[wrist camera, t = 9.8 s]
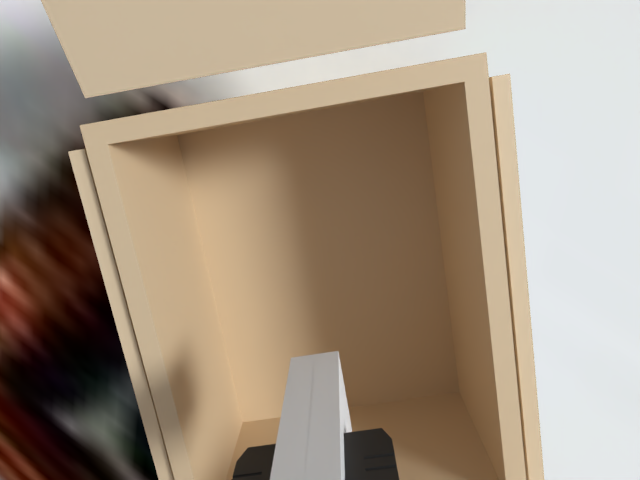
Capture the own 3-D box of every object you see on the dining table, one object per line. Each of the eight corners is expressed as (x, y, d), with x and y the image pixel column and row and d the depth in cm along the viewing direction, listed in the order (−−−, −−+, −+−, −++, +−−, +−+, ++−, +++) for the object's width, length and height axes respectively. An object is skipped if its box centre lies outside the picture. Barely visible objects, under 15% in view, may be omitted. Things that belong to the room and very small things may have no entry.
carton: (144, 124, 27) (54, 129, 18) (451, 69, 26) (510, 47, 17) (219, 432, 31) (174, 557, 22) (486, 395, 30) (549, 510, 21)
